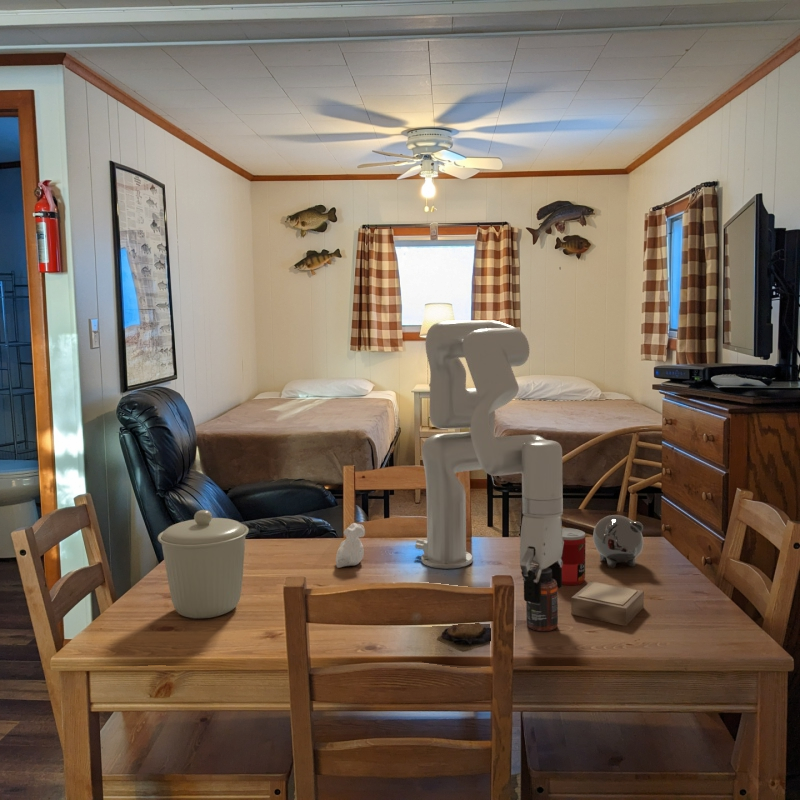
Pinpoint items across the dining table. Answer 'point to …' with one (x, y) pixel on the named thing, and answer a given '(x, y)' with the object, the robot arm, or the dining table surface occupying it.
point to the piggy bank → (618, 540)
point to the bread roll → (466, 636)
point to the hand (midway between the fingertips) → (543, 594)
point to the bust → (351, 546)
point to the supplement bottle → (544, 604)
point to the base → (607, 603)
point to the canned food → (573, 556)
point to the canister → (204, 564)
